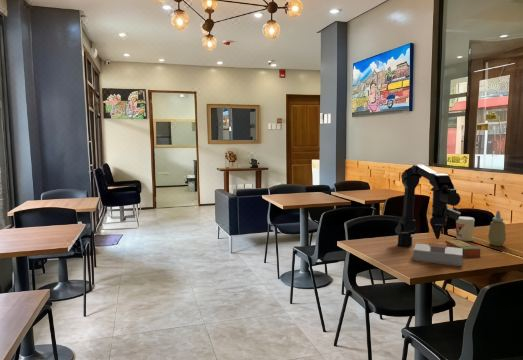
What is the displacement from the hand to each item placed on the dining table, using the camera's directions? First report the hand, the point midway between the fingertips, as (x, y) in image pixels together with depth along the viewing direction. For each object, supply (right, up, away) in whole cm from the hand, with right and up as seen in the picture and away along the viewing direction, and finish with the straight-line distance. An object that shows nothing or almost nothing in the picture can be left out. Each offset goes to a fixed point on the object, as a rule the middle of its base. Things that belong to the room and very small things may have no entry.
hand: (438, 236), depth 174 cm
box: (+2, -12, +5) cm, 13 cm away
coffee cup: (+34, -8, +42) cm, 54 cm away
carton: (+20, -11, +18) cm, 29 cm away
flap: (+2, -7, +5) cm, 9 cm away
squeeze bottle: (+44, -9, +30) cm, 54 cm away
